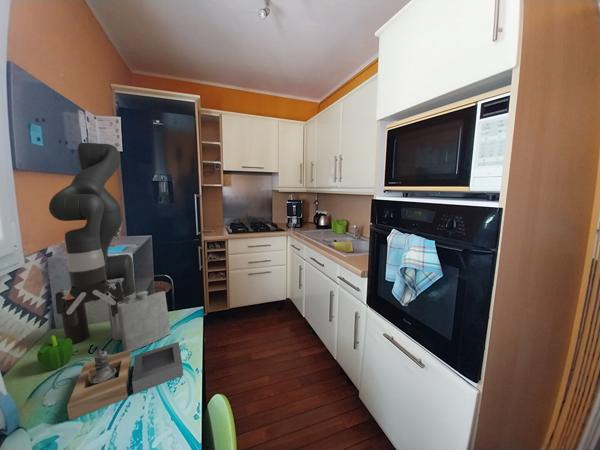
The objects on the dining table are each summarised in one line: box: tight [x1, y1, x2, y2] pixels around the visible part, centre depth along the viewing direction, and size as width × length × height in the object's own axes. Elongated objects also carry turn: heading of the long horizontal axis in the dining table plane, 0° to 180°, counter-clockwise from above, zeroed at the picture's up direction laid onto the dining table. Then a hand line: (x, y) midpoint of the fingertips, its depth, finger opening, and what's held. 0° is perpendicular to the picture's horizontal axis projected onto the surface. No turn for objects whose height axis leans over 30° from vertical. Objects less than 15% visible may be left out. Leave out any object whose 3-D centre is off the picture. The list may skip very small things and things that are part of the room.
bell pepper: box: [36, 334, 74, 371], centre depth 79 cm, size 8×8×10 cm
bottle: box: [61, 294, 90, 345], centre depth 92 cm, size 7×7×20 cm
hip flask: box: [118, 290, 171, 352], centre depth 90 cm, size 16×4×20 cm, turn 140°
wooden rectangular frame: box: [66, 350, 133, 421], centre depth 70 cm, size 18×12×4 cm, turn 32°
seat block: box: [131, 341, 184, 395], centre depth 76 cm, size 13×13×4 cm
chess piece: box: [91, 349, 116, 386], centre depth 70 cm, size 6×6×12 cm
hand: (95, 320), depth 67 cm, fingers open, 8 cm apart
